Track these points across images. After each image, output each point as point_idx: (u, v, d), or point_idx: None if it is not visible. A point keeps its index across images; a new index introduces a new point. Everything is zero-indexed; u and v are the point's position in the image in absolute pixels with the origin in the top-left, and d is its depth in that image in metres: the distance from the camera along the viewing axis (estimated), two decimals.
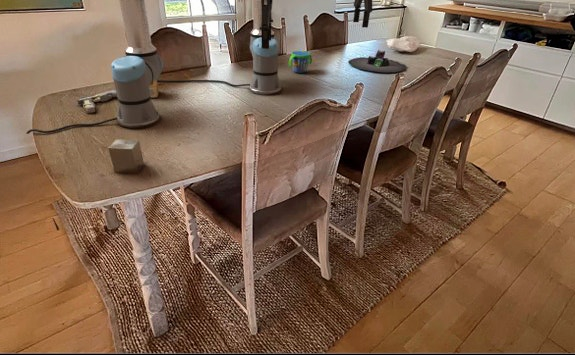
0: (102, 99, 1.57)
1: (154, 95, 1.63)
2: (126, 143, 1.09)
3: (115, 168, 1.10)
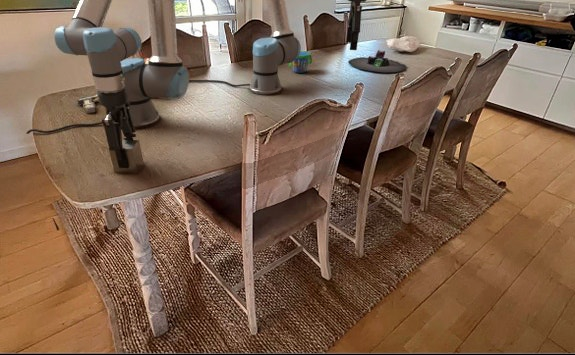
0: None
1: None
2: (126, 143, 1.09)
3: (115, 168, 1.10)
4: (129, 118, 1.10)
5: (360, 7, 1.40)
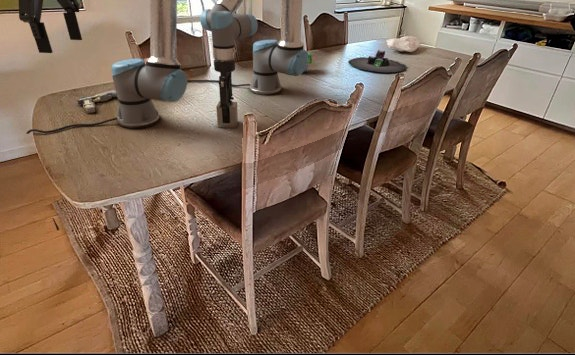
0: (102, 99, 1.57)
1: None
2: (228, 104, 1.38)
3: (219, 123, 1.40)
4: None
5: (224, 84, 1.27)
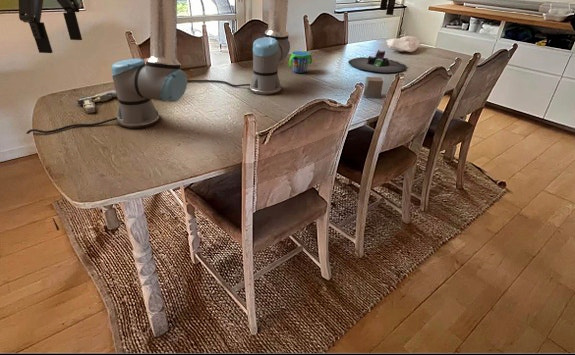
0: (102, 99, 1.57)
1: None
2: (376, 78, 1.72)
3: (367, 94, 1.73)
4: None
5: None
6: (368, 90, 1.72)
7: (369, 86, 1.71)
